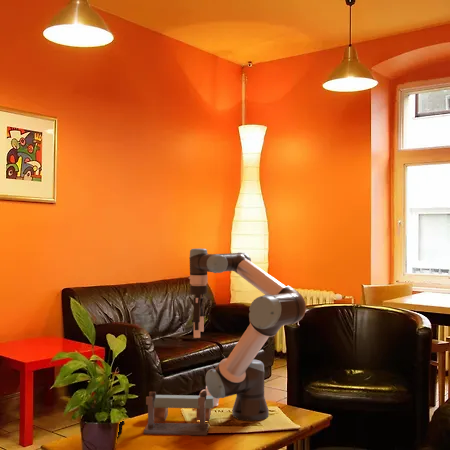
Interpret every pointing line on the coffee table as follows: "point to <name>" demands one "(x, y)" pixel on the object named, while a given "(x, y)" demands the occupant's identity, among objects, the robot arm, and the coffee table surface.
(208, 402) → the rail
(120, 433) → the controller
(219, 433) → the coffee table surface
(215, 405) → the cup
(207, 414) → the rest blocks
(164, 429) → the stand
